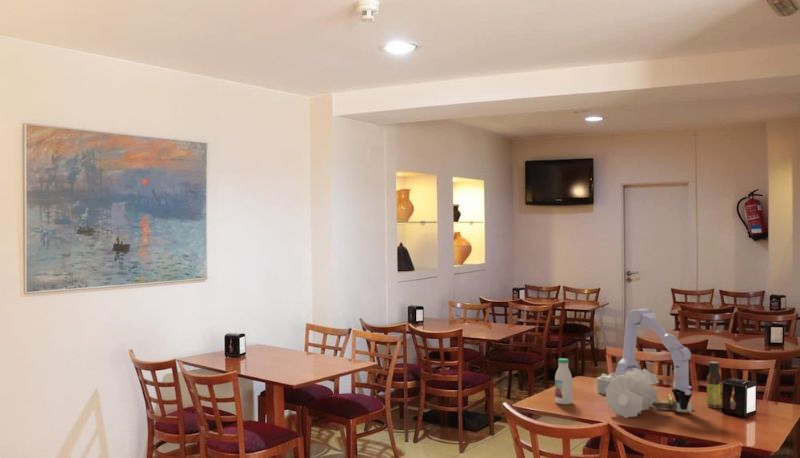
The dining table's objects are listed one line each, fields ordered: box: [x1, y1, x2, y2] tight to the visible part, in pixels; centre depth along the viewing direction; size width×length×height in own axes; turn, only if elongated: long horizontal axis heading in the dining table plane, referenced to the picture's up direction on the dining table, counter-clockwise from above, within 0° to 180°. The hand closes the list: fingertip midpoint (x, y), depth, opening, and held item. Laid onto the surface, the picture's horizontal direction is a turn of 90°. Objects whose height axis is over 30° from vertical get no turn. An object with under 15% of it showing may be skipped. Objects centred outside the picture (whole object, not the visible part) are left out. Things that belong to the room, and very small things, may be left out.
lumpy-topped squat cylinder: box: [596, 373, 616, 395], centre depth 315 cm, size 10×13×9 cm
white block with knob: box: [673, 401, 693, 413], centre depth 277 cm, size 6×4×4 cm
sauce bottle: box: [706, 361, 723, 409], centre depth 286 cm, size 7×6×20 cm
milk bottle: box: [554, 357, 573, 405], centre depth 296 cm, size 8×8×20 cm
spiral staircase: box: [605, 368, 660, 419], centre depth 279 cm, size 18×18×25 cm
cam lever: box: [667, 393, 675, 405], centre depth 282 cm, size 8×2×2 cm, turn 161°
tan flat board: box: [652, 398, 676, 411], centre depth 285 cm, size 16×6×3 cm, turn 87°
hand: (681, 407), depth 277 cm, fingers closed on white block with knob, 4 cm apart
